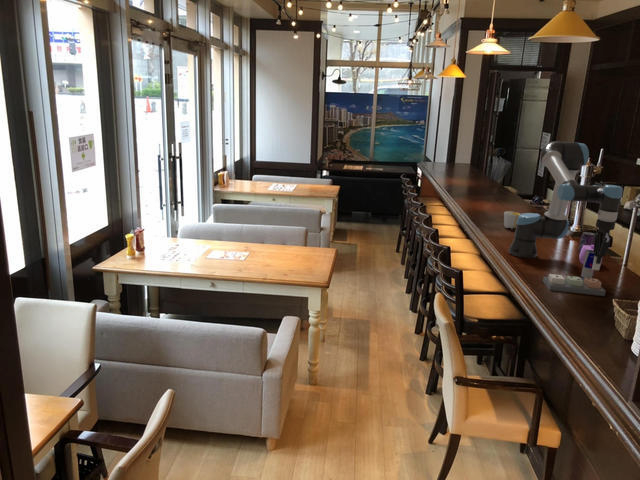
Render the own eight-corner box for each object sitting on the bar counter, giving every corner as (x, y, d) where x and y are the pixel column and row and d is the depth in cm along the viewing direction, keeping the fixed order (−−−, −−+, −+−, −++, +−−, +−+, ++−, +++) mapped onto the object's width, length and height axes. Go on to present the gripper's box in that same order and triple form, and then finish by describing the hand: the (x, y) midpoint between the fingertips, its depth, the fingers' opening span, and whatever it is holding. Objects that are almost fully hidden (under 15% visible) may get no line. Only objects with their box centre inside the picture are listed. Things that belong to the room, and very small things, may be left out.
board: (542, 281, 249) (543, 276, 248) (595, 286, 246) (596, 282, 245) (549, 290, 237) (550, 285, 237) (604, 296, 234) (605, 291, 233)
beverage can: (576, 250, 307) (580, 231, 303) (589, 252, 305) (593, 232, 302) (579, 254, 300) (584, 234, 297) (593, 255, 299) (597, 235, 295)
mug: (502, 228, 349) (505, 213, 346) (501, 225, 358) (503, 210, 355) (523, 231, 346) (526, 216, 343) (521, 227, 356) (524, 212, 353)
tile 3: (583, 283, 243) (584, 277, 242) (595, 284, 242) (597, 278, 241) (587, 287, 238) (588, 281, 237) (600, 289, 237) (601, 282, 236)
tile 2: (565, 281, 244) (566, 275, 243) (578, 283, 243) (579, 276, 242) (569, 285, 239) (570, 279, 238) (581, 287, 238) (583, 280, 237)
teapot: (576, 256, 294) (579, 239, 291) (596, 259, 291) (600, 242, 288) (581, 266, 277) (585, 247, 274) (603, 269, 274) (607, 250, 272)
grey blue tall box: (588, 282, 252) (594, 252, 248) (578, 278, 256) (584, 250, 252) (593, 280, 255) (600, 251, 251) (583, 277, 259) (589, 248, 255)
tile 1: (547, 279, 245) (549, 273, 244) (560, 281, 244) (561, 274, 243) (551, 283, 240) (552, 277, 239) (563, 285, 239) (565, 278, 238)
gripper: (592, 215, 238) (582, 264, 244) (603, 222, 225) (591, 273, 232) (609, 217, 237) (598, 266, 243) (621, 224, 224) (609, 274, 231)
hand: (595, 269), depth 237 cm, fingers closed
